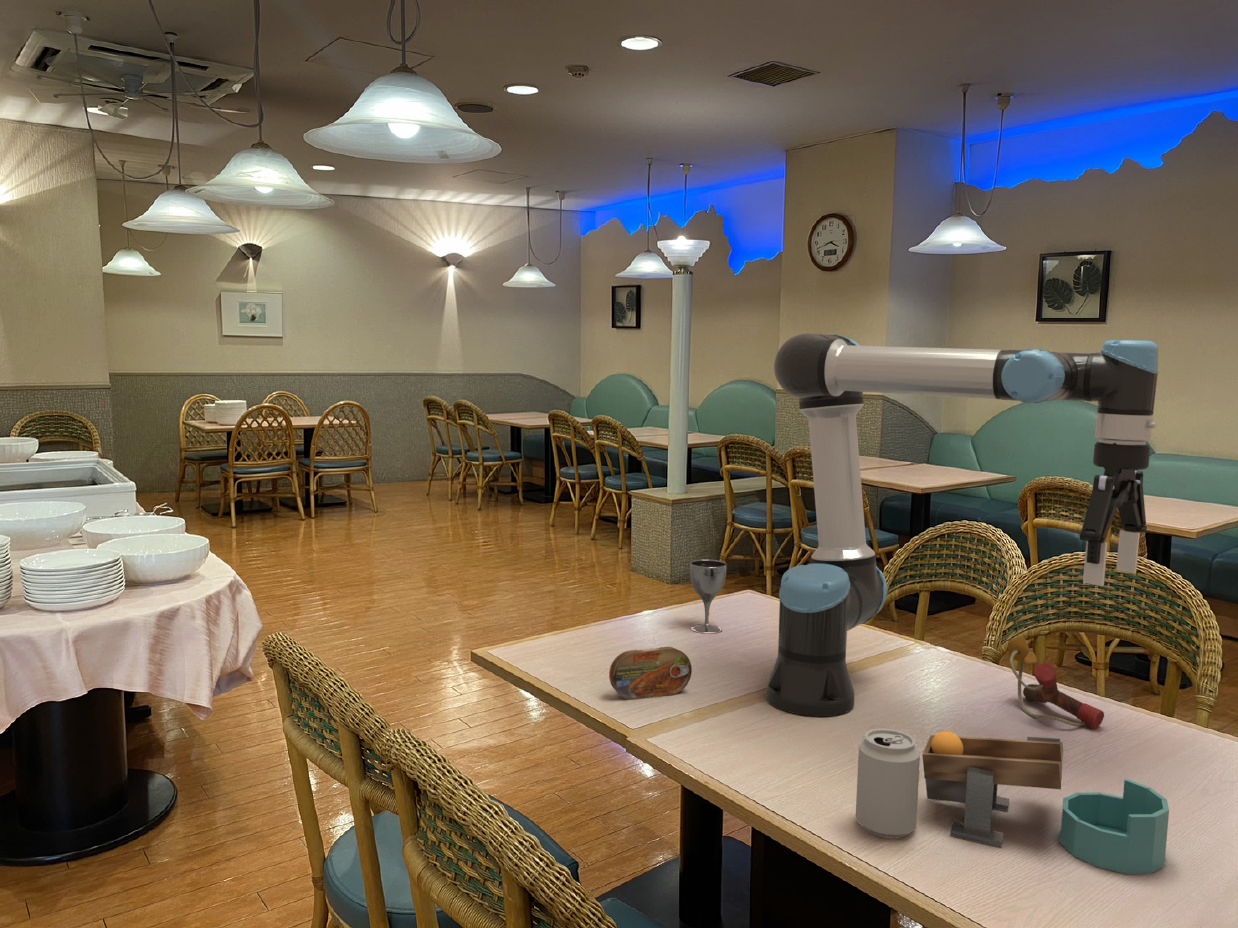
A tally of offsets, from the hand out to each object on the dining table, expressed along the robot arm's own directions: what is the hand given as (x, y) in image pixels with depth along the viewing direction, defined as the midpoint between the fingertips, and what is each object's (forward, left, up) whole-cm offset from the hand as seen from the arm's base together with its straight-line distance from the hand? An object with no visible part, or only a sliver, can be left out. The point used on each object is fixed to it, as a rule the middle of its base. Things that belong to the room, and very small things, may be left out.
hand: (1110, 577), depth 142 cm
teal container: (+1, -36, -27) cm, 45 cm away
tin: (-71, -16, -27) cm, 78 cm away
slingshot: (-8, +8, -27) cm, 29 cm away
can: (-25, -44, -27) cm, 57 cm away
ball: (-19, -36, -18) cm, 44 cm away
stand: (-14, -36, -27) cm, 47 cm away
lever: (-13, -33, -23) cm, 42 cm away
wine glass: (-77, +27, -27) cm, 86 cm away
